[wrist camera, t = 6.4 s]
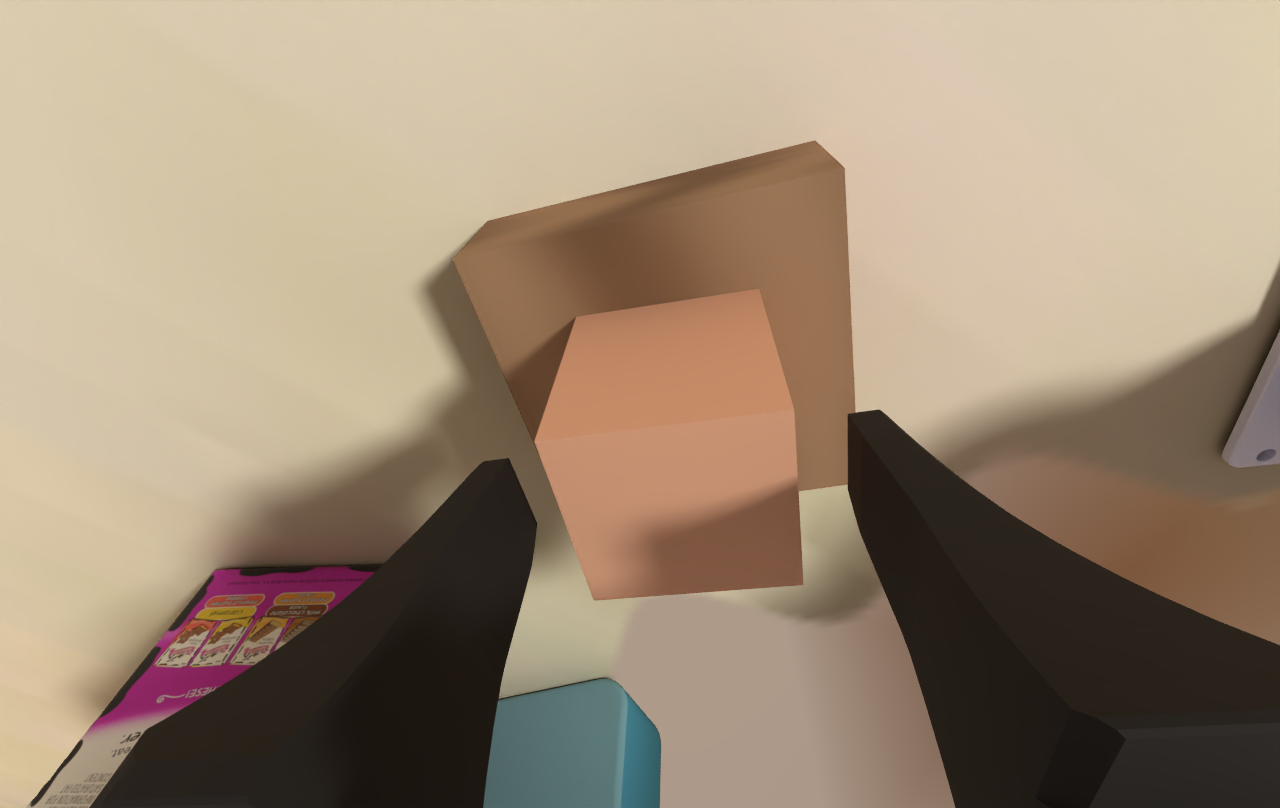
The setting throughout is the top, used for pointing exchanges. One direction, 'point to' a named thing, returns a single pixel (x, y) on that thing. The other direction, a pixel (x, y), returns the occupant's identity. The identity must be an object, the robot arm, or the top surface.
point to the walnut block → (685, 278)
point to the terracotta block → (675, 450)
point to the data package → (573, 750)
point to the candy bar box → (200, 662)
